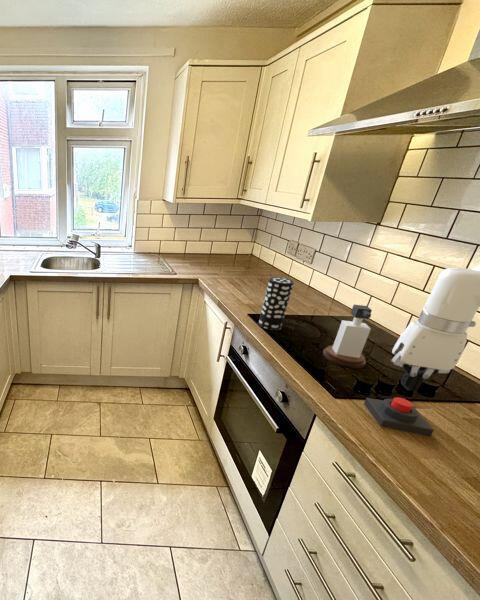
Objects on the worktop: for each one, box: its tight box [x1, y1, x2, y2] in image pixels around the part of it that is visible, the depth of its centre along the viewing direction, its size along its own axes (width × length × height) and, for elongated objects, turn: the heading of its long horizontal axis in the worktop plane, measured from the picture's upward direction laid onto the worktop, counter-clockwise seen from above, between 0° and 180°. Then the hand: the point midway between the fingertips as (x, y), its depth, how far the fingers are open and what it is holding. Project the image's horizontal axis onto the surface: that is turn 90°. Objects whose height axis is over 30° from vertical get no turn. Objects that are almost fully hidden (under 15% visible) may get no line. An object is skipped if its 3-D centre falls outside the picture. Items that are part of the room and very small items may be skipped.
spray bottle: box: [325, 304, 373, 363], centre depth 105 cm, size 10×10×18 cm
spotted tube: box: [257, 276, 295, 331], centre depth 128 cm, size 8×8×20 cm
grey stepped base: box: [363, 397, 435, 437], centre depth 82 cm, size 10×9×4 cm
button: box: [391, 396, 414, 413], centre depth 81 cm, size 4×4×2 cm
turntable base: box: [322, 347, 367, 369], centre depth 109 cm, size 12×12×1 cm
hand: (408, 387), depth 79 cm, fingers closed
